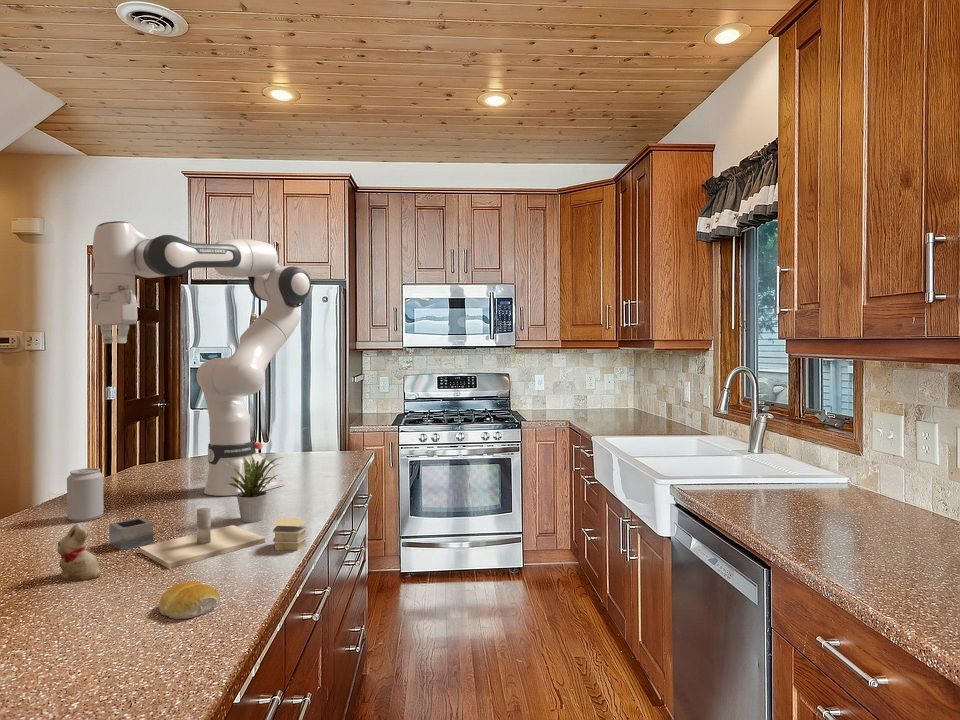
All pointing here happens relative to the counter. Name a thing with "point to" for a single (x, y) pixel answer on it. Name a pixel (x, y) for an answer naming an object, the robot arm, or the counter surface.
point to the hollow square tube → (131, 533)
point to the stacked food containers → (289, 534)
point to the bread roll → (188, 600)
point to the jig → (201, 543)
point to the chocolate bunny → (77, 556)
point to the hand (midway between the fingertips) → (114, 343)
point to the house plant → (252, 490)
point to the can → (85, 494)
